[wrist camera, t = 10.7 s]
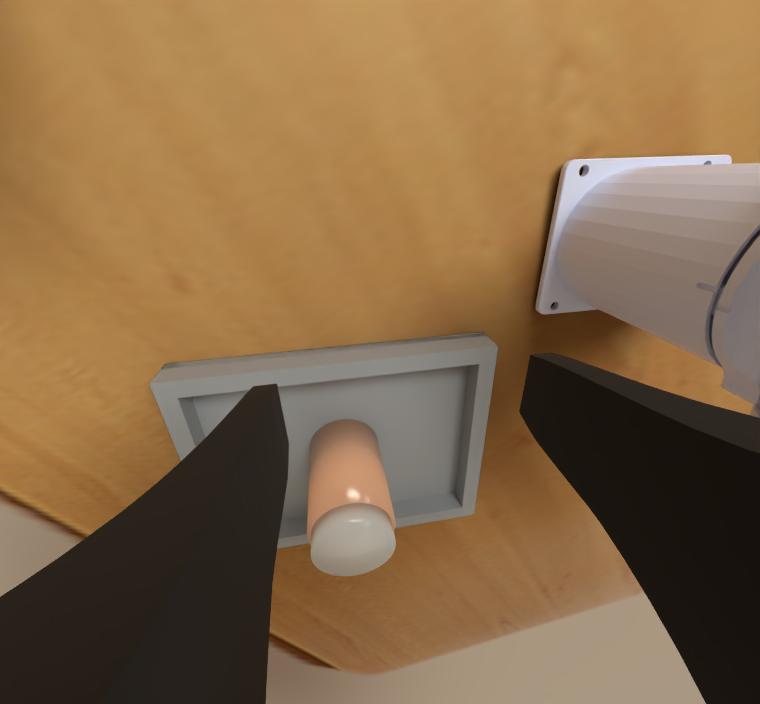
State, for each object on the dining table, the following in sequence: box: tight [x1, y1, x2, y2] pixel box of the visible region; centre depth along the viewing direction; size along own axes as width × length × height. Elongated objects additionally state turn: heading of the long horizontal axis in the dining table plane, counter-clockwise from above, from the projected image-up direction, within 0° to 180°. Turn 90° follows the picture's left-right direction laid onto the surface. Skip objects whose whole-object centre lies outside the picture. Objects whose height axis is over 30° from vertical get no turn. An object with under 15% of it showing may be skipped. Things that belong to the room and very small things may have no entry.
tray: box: [149, 332, 498, 549], centre depth 22 cm, size 18×14×2 cm
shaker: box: [307, 419, 396, 576], centre depth 19 cm, size 4×4×7 cm
